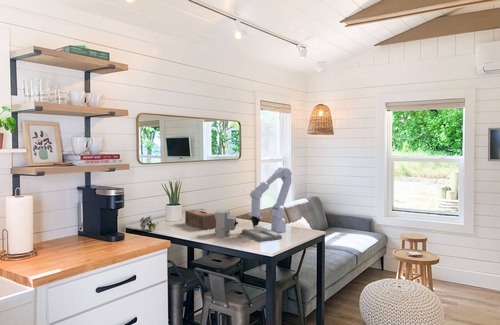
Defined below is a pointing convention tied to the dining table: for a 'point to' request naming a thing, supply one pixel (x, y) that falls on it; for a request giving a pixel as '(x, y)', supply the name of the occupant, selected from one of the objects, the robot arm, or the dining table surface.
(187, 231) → the dining table surface
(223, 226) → the circuit breaker
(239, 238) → the dining table surface
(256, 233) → the breaker panel
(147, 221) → the passion flower
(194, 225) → the tissue box cover
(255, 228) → the switch
